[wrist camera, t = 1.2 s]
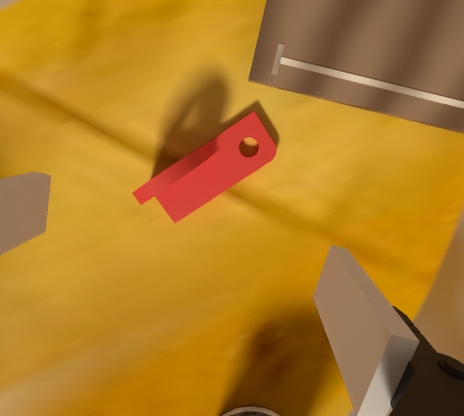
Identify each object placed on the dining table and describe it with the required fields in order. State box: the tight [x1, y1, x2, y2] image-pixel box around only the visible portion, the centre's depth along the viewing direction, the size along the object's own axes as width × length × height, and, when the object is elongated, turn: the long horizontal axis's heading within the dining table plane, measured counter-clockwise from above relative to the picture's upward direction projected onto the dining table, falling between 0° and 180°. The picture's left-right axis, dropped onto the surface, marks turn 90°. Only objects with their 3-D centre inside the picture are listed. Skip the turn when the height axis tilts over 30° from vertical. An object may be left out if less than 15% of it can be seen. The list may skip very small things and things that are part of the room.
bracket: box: [133, 111, 276, 223], centre depth 28 cm, size 12×4×8 cm, turn 124°
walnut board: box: [249, 0, 464, 134], centre depth 27 cm, size 24×12×2 cm, turn 77°
